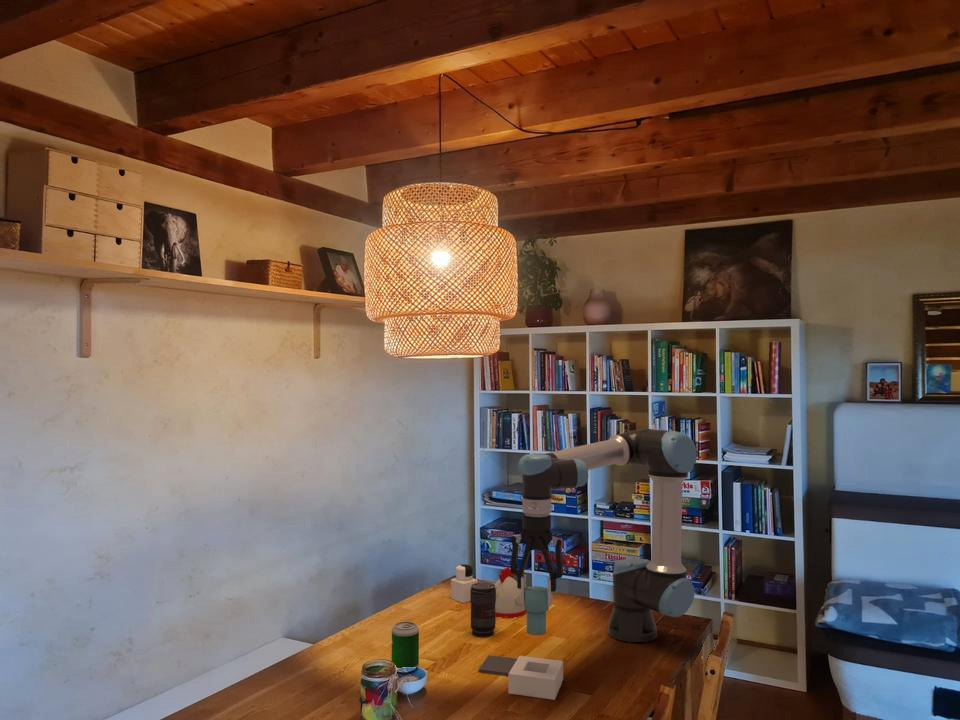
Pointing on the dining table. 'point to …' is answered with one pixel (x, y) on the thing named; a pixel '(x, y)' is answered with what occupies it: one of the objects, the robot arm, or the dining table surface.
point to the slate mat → (497, 665)
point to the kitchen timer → (508, 596)
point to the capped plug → (536, 609)
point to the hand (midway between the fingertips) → (536, 602)
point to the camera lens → (483, 609)
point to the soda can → (405, 645)
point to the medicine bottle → (462, 583)
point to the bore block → (536, 677)
